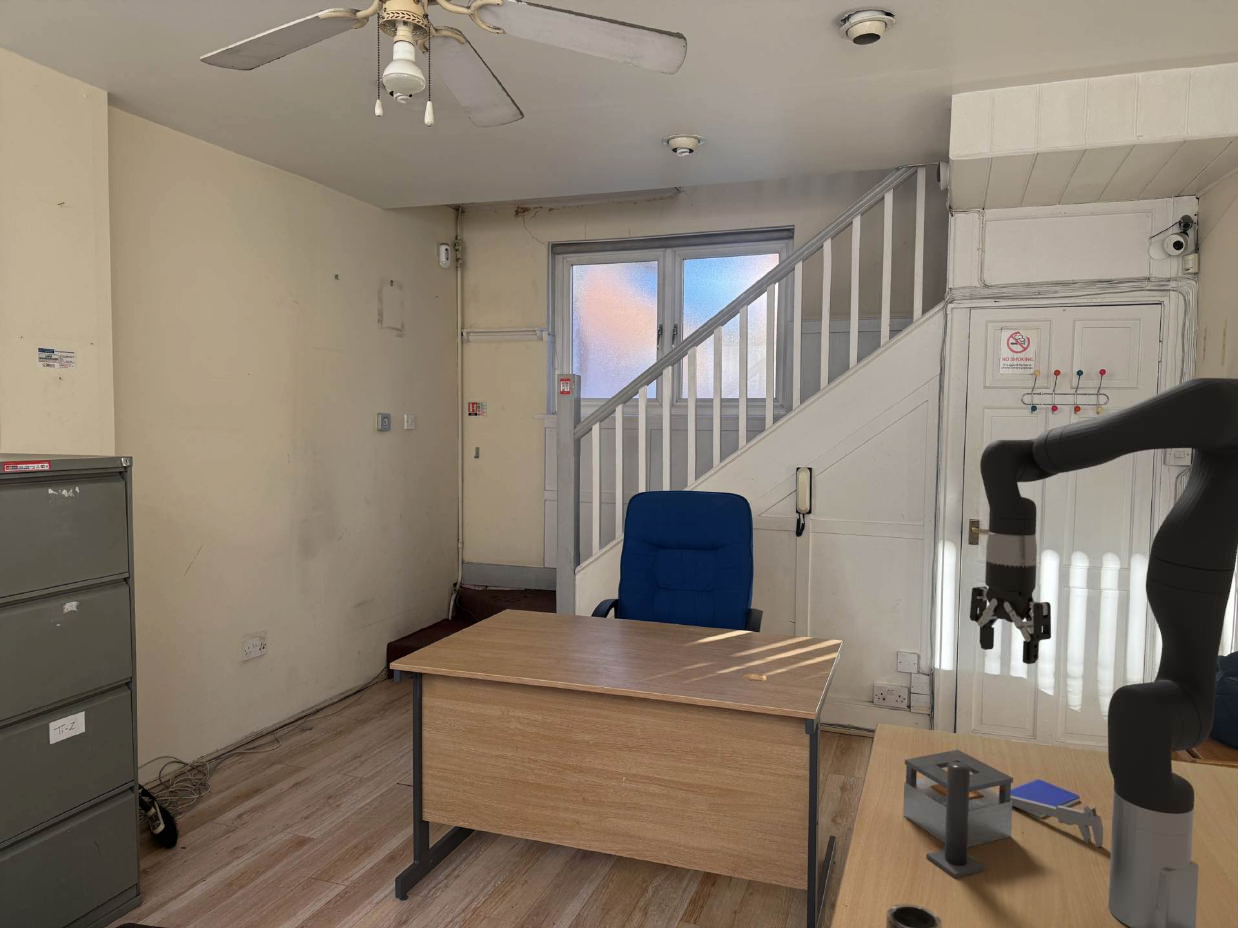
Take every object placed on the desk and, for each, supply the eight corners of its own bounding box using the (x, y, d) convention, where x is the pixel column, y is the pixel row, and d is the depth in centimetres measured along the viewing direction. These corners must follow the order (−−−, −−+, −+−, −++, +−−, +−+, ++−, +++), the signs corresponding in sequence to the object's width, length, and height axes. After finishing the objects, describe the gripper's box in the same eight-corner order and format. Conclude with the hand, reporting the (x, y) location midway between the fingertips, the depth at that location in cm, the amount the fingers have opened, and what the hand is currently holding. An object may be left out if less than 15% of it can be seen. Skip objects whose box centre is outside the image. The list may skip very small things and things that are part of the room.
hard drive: (1040, 811, 138) (1080, 795, 144) (997, 792, 145) (1036, 777, 151) (1040, 820, 138) (1079, 803, 144) (997, 801, 145) (1036, 785, 151)
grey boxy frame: (1010, 836, 131) (1013, 777, 131) (955, 849, 127) (957, 789, 126) (956, 803, 143) (957, 749, 142) (903, 815, 138) (904, 759, 138)
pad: (985, 869, 121) (985, 866, 121) (955, 877, 119) (955, 874, 119) (955, 849, 127) (955, 846, 127) (926, 857, 125) (926, 853, 125)
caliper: (1102, 848, 128) (1104, 810, 128) (1099, 849, 128) (1100, 812, 128) (989, 795, 146) (990, 763, 146) (985, 797, 146) (986, 764, 145)
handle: (971, 863, 122) (974, 768, 121) (955, 867, 121) (958, 771, 120) (956, 852, 125) (958, 760, 124) (940, 856, 124) (943, 763, 123)
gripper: (1065, 565, 125) (1061, 665, 126) (993, 551, 139) (990, 642, 140) (1030, 568, 123) (1026, 671, 124) (960, 554, 136) (957, 646, 137)
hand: (1007, 655), depth 132 cm, fingers open, 8 cm apart
